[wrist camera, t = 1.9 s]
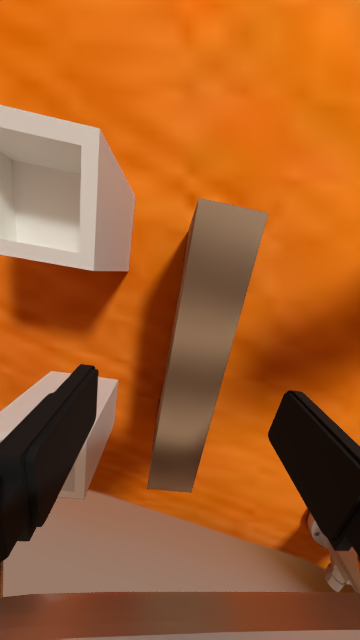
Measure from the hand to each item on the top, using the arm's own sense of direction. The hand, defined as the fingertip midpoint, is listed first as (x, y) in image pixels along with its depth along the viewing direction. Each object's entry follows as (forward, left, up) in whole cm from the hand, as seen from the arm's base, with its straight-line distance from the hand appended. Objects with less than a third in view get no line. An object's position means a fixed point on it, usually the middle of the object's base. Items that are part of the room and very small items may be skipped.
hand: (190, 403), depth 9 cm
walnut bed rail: (0, -1, -9) cm, 9 cm away
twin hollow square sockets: (0, +9, -9) cm, 13 cm away
